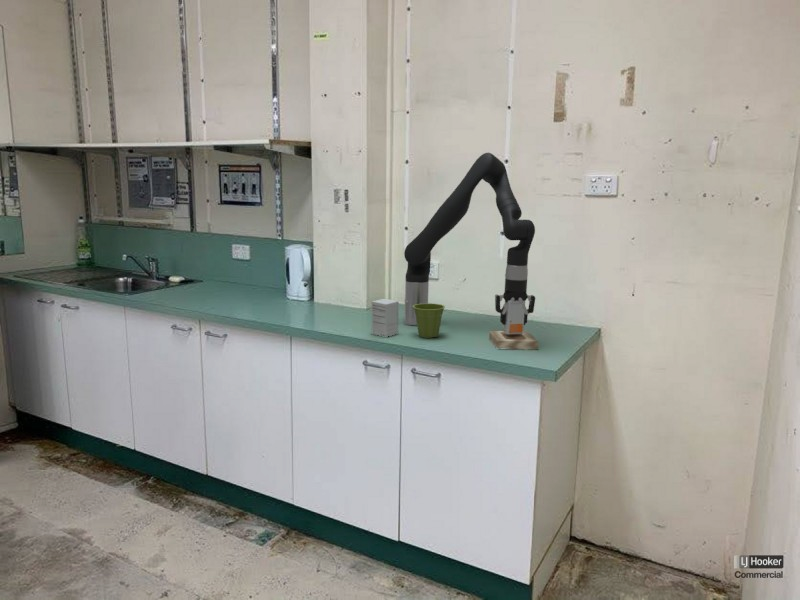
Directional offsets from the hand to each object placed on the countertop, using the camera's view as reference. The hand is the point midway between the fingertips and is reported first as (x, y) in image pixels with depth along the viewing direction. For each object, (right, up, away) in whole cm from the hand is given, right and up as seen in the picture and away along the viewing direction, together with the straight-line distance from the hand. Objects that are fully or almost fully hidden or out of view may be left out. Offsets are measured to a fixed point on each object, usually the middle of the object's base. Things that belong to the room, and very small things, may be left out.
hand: (513, 324), depth 205 cm
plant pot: (-30, -5, +11) cm, 32 cm away
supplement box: (-46, -4, +12) cm, 47 cm away
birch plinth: (0, -7, +1) cm, 7 cm away
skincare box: (0, -3, +1) cm, 3 cm away
